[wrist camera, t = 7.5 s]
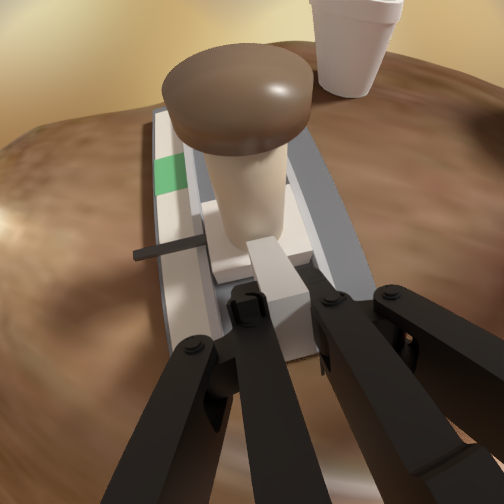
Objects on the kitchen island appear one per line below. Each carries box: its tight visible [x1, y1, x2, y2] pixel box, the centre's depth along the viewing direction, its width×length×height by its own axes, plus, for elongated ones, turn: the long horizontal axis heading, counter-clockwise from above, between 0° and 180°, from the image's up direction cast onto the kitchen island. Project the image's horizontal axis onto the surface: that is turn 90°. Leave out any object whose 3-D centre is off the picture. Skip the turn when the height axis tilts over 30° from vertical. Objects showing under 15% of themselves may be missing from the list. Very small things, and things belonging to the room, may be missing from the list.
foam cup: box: [309, 0, 404, 98], centre depth 24 cm, size 10×9×13 cm
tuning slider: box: [133, 43, 314, 284], centre depth 15 cm, size 11×5×13 cm, turn 102°
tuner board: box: [152, 106, 377, 362], centre depth 23 cm, size 14×26×3 cm, turn 12°
